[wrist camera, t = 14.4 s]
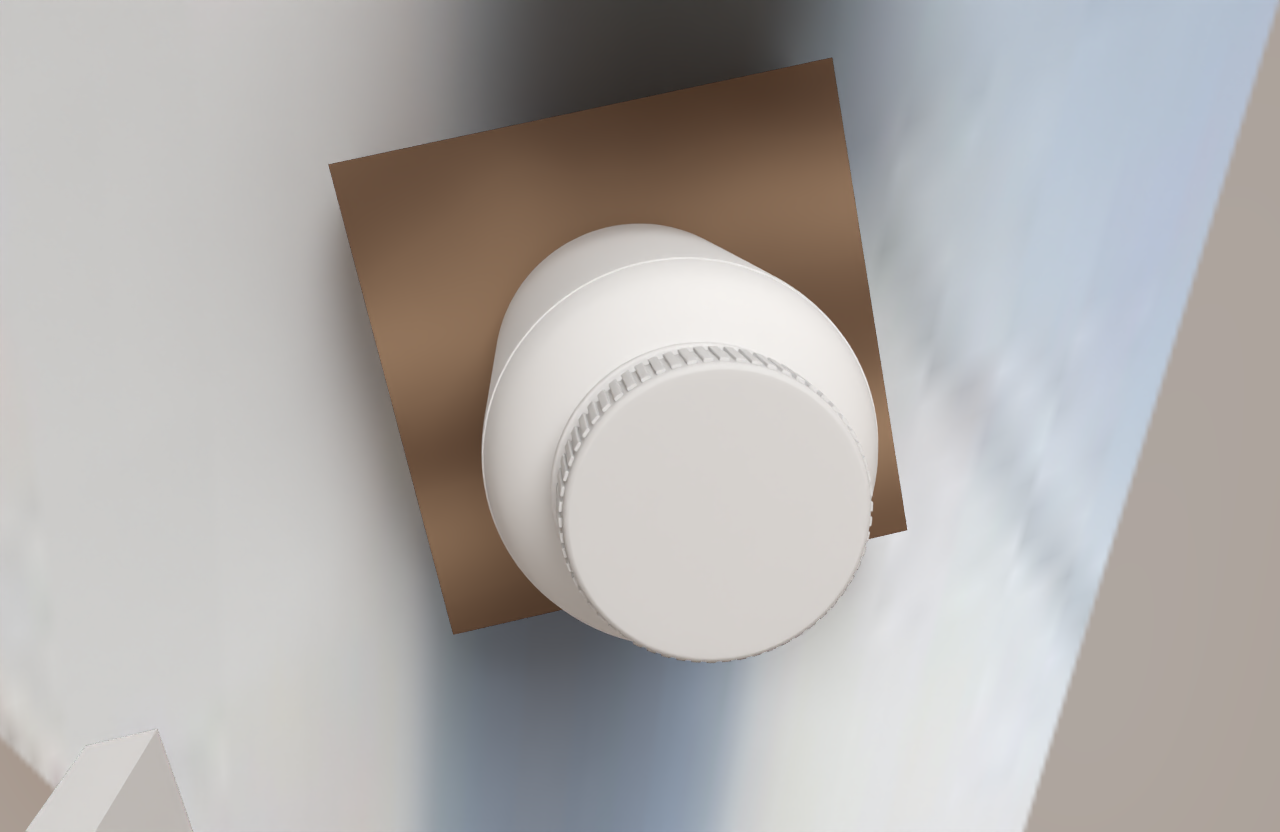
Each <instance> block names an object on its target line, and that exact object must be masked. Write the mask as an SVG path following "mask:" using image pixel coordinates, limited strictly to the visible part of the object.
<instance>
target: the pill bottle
mask: <svg viewBox="0 0 1280 832" xmlns="http://www.w3.org/2000/svg"><path fill="white" fill-rule="evenodd" d="M877 464H878V428H877V419H876V413H875V407H874V403H873V399H872V395H871V391H870V388H869V385H868V382H867V379H866V377H865V374H864V372H863V370H862V367H861V365H860V363H859V361H858V359H857V357H856V355H855V354H854V352H853V350H852V348H851V347H850V345H849V344H848V342H847V341H846V339H845V338H844V336H843V335H842V334H841V332H840V331H839V330H838V328H837V327H836V326H835V325H834V324H833V322H832V321H831V320H830V319H829V318H828V317H827V316H826V315H825V314H824V313H823V312H822V311H821V310H820V309H819V308H818V307H817V306H816V305H815V304H814V303H813V302H812V301H810V300H809V299H808V298H807V297H805V296H804V295H803V294H802V293H800V292H799V291H797V290H796V289H795V288H793V287H792V286H790V285H789V284H787V283H785V282H784V281H782V280H780V279H779V278H777V277H775V276H773V275H771V274H770V273H768V272H766V271H764V270H762V269H760V268H758V267H756V266H754V265H753V264H751V263H749V262H747V261H745V260H743V259H741V258H739V257H737V256H735V255H734V254H732V253H730V252H728V251H726V250H724V249H722V248H720V247H718V246H717V245H715V244H713V243H711V242H709V241H707V240H705V239H703V238H701V237H699V236H697V235H694V234H692V233H689V232H687V231H684V230H680V229H677V228H673V227H668V226H663V225H656V224H623V225H616V226H611V227H606V228H602V229H599V230H595V231H592V232H590V233H587V234H584V235H582V236H580V237H578V238H576V239H574V240H572V241H570V242H568V243H566V244H565V245H563V246H561V247H560V248H558V249H557V250H555V251H554V252H553V253H551V254H550V255H549V256H548V257H546V258H545V259H544V260H543V261H542V262H541V263H540V264H539V265H538V266H537V267H536V268H535V269H534V270H533V271H532V272H531V273H530V274H529V275H528V276H527V278H526V279H525V280H524V282H523V283H522V284H521V286H520V287H519V289H518V290H517V292H516V293H515V295H514V297H513V299H512V300H511V302H510V304H509V306H508V309H507V311H506V313H505V316H504V318H503V321H502V324H501V327H500V331H499V335H498V340H497V345H496V351H495V357H494V363H493V369H492V375H491V382H490V388H489V394H488V400H487V406H486V412H485V418H484V424H483V433H482V472H483V481H484V487H485V492H486V497H487V501H488V505H489V509H490V512H491V515H492V518H493V521H494V523H495V526H496V528H497V531H498V533H499V535H500V537H501V539H502V541H503V543H504V545H505V547H506V549H507V550H508V552H509V554H510V555H511V557H512V558H513V560H514V561H515V563H516V564H517V566H518V567H519V568H520V570H521V571H522V572H523V573H524V575H525V576H526V577H527V578H528V579H529V580H530V582H531V583H532V584H533V585H534V586H535V587H536V588H537V589H538V590H539V591H540V592H541V593H542V594H544V595H545V596H546V597H547V598H548V599H549V600H551V601H552V602H553V603H554V604H556V605H557V606H558V607H560V608H561V609H563V610H564V611H565V612H567V613H568V614H570V615H571V616H573V617H575V618H576V619H578V620H580V621H581V622H583V623H585V624H587V625H589V626H591V627H593V628H595V629H597V630H600V631H602V632H604V633H607V634H610V635H613V636H616V637H619V638H622V639H626V640H629V641H633V644H635V645H637V646H639V647H642V646H643V647H645V648H647V651H650V652H653V653H656V652H657V653H660V654H661V656H664V657H668V658H670V657H674V658H676V660H682V661H685V660H691V662H701V661H702V662H707V663H716V662H718V661H722V662H728V661H731V660H736V659H737V660H741V659H746V658H747V657H750V656H757V655H760V654H761V653H763V652H766V651H767V652H768V651H771V650H773V649H776V647H778V646H780V645H784V644H786V643H788V642H790V640H792V639H793V638H796V637H798V636H799V635H801V634H802V633H803V632H804V631H805V630H807V629H809V628H811V627H812V626H813V625H814V624H815V623H816V622H817V621H818V620H819V619H821V618H822V617H823V616H824V615H825V614H826V613H827V611H828V610H829V609H830V608H832V607H833V606H834V605H835V604H836V602H837V600H838V598H839V597H840V596H842V595H843V593H844V592H845V590H846V587H847V586H848V584H849V583H851V581H852V579H853V578H854V573H855V571H856V570H858V568H859V566H860V563H861V561H860V560H861V557H862V556H864V553H865V550H866V547H865V545H866V541H868V540H869V535H870V532H869V526H871V524H872V517H871V511H873V502H872V501H871V499H872V496H873V490H874V486H875V480H876V473H877Z"/></svg>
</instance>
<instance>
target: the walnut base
mask: <svg viewBox="0 0 1280 832" xmlns="http://www.w3.org/2000/svg"><path fill="white" fill-rule="evenodd" d="M328 165H329V169H330V173H331V176H332V180H333V184H334V188H335V191H336V195H337V199H338V203H339V206H340V210H341V214H342V218H343V221H344V225H345V229H346V233H347V237H348V240H349V244H350V248H351V252H352V255H353V259H354V263H355V267H356V270H357V274H358V278H359V282H360V285H361V289H362V293H363V297H364V301H365V304H366V308H367V312H368V316H369V319H370V323H371V327H372V331H373V334H374V338H375V342H376V346H377V349H378V353H379V357H380V361H381V364H382V368H383V372H384V376H385V380H386V383H387V387H388V391H389V395H390V398H391V402H392V406H393V410H394V413H395V417H396V421H397V425H398V428H399V432H400V436H401V440H402V444H403V447H404V451H405V455H406V459H407V462H408V466H409V470H410V474H411V477H412V481H413V485H414V489H415V492H416V496H417V500H418V504H419V508H420V511H421V515H422V519H423V523H424V526H425V530H426V534H427V538H428V541H429V545H430V549H431V553H432V556H433V560H434V564H435V568H436V572H437V575H438V579H439V583H440V587H441V590H442V594H443V598H444V602H445V605H446V609H447V613H448V617H449V620H450V624H451V628H452V632H453V635H454V634H459V633H463V632H467V631H472V630H476V629H480V628H485V627H489V626H493V625H498V624H502V623H506V622H511V621H515V620H519V619H524V618H528V617H532V616H537V615H541V614H545V613H550V612H554V611H558V610H563V609H561V608H560V607H558V606H557V605H556V604H554V603H553V602H552V601H551V600H549V599H548V598H547V597H546V596H545V595H544V594H542V593H541V592H540V591H539V590H538V589H537V588H536V587H535V586H534V585H533V584H532V583H531V582H530V580H529V579H528V578H527V577H526V576H525V575H524V573H523V572H522V571H521V570H520V568H519V567H518V566H517V564H516V563H515V561H514V560H513V558H512V557H511V555H510V554H509V552H508V550H507V549H506V547H505V545H504V543H503V541H502V539H501V537H500V535H499V533H498V531H497V528H496V526H495V523H494V521H493V518H492V515H491V512H490V509H489V505H488V501H487V497H486V492H485V487H484V481H483V472H482V433H483V424H484V418H485V412H486V406H487V400H488V394H489V388H490V382H491V375H492V369H493V363H494V357H495V351H496V345H497V340H498V335H499V331H500V327H501V324H502V321H503V318H504V316H505V313H506V311H507V309H508V306H509V304H510V302H511V300H512V299H513V297H514V295H515V293H516V292H517V290H518V289H519V287H520V286H521V284H522V283H523V282H524V280H525V279H526V278H527V276H528V275H529V274H530V273H531V272H532V271H533V270H534V269H535V268H536V267H537V266H538V265H539V264H540V263H541V262H542V261H543V260H544V259H545V258H546V257H548V256H549V255H550V254H551V253H553V252H554V251H555V250H557V249H558V248H560V247H561V246H563V245H565V244H566V243H568V242H570V241H572V240H574V239H576V238H578V237H580V236H582V235H584V234H587V233H590V232H592V231H595V230H599V229H602V228H606V227H611V226H616V225H623V224H656V225H663V226H668V227H673V228H677V229H680V230H684V231H687V232H689V233H692V234H694V235H697V236H699V237H701V238H703V239H705V240H707V241H709V242H711V243H713V244H715V245H717V246H718V247H720V248H722V249H724V250H726V251H728V252H730V253H732V254H734V255H735V256H737V257H739V258H741V259H743V260H745V261H747V262H749V263H751V264H753V265H754V266H756V267H758V268H760V269H762V270H764V271H766V272H768V273H770V274H771V275H773V276H775V277H777V278H779V279H780V280H782V281H784V282H785V283H787V284H789V285H790V286H792V287H793V288H795V289H796V290H797V291H799V292H800V293H802V294H803V295H804V296H805V297H807V298H808V299H809V300H810V301H812V302H813V303H814V304H815V305H816V306H817V307H818V308H819V309H820V310H821V311H822V312H823V313H824V314H825V315H826V316H827V317H828V318H829V319H830V320H831V321H832V322H833V324H834V325H835V326H836V327H837V328H838V330H839V331H840V332H841V334H842V335H843V336H844V338H845V339H846V341H847V342H848V344H849V345H850V347H851V348H852V350H853V352H854V354H855V355H856V357H857V359H858V361H859V363H860V365H861V367H862V370H863V372H864V374H865V377H866V379H867V382H868V385H869V388H870V391H871V395H872V399H873V403H874V407H875V413H876V419H877V428H878V464H877V473H876V480H875V486H874V490H873V496H872V499H871V501H872V502H873V511H871V517H872V524H871V526H869V532H870V535H869V539H871V538H875V537H879V536H884V535H888V534H892V533H897V532H901V531H905V530H907V525H906V519H905V513H904V506H903V500H902V494H901V487H900V481H899V475H898V468H897V462H896V456H895V450H894V443H893V437H892V431H891V424H890V418H889V412H888V406H887V399H886V393H885V387H884V380H883V374H882V368H881V361H880V355H879V349H878V343H877V336H876V330H875V324H874V317H873V311H872V305H871V298H870V292H869V286H868V280H867V273H866V267H865V261H864V254H863V248H862V242H861V235H860V229H859V223H858V217H857V210H856V204H855V198H854V191H853V185H852V179H851V172H850V166H849V160H848V154H847V147H846V141H845V135H844V128H843V122H842V116H841V109H840V103H839V97H838V91H837V84H836V78H835V72H834V65H833V59H832V58H828V59H823V60H818V61H813V62H809V63H804V64H799V65H795V66H790V67H785V68H780V69H776V70H771V71H766V72H762V73H757V74H752V75H748V76H743V77H738V78H733V79H729V80H724V81H719V82H715V83H710V84H705V85H700V86H696V87H691V88H686V89H682V90H677V91H672V92H667V93H663V94H658V95H653V96H649V97H644V98H639V99H635V100H630V101H625V102H620V103H616V104H611V105H606V106H602V107H597V108H592V109H587V110H583V111H578V112H573V113H569V114H564V115H559V116H554V117H550V118H545V119H540V120H536V121H531V122H526V123H522V124H517V125H512V126H507V127H503V128H498V129H493V130H489V131H484V132H479V133H474V134H470V135H465V136H460V137H456V138H451V139H446V140H441V141H437V142H432V143H427V144H423V145H418V146H413V147H409V148H404V149H399V150H394V151H390V152H385V153H380V154H376V155H371V156H366V157H361V158H357V159H352V160H347V161H343V162H338V163H333V164H328Z"/></svg>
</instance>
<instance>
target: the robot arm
mask: <svg viewBox="0 0 1280 832" xmlns="http://www.w3.org/2000/svg"><path fill="white" fill-rule="evenodd" d="M25 832H193V830H192V827H191V824H190V821H189V818H188V815H187V812H186V809H185V807H184V804H183V801H182V798H181V795H180V792H179V789H178V786H177V784H176V781H175V778H174V775H173V772H172V769H171V766H170V763H169V761H168V758H167V755H166V752H165V749H164V746H163V743H162V740H161V738H160V735H159V732H158V729H154V730H150V731H146V732H141V733H137V734H133V735H129V736H125V737H120V738H116V739H112V740H108V741H103V742H99V743H95V744H91V745H86V746H85V747H84V749H83V750H82V752H81V753H80V755H79V756H78V757H77V759H76V760H75V762H74V763H73V764H72V766H71V767H70V769H69V770H68V772H67V773H66V774H65V776H64V777H63V779H62V780H61V781H60V783H59V784H58V786H57V787H56V789H55V790H54V791H53V793H52V794H51V796H50V797H49V799H48V800H47V802H46V803H45V804H44V806H43V807H42V809H41V810H40V811H39V813H38V814H37V815H36V817H35V818H34V820H33V821H32V823H31V824H30V825H29V827H28V828H27V830H26V831H25Z"/></svg>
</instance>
